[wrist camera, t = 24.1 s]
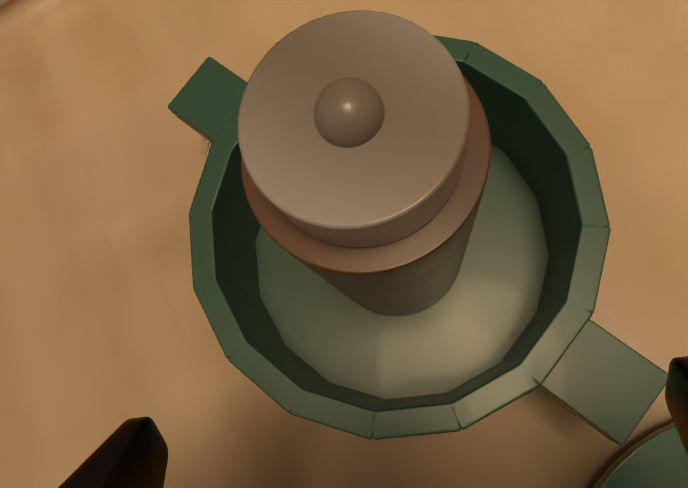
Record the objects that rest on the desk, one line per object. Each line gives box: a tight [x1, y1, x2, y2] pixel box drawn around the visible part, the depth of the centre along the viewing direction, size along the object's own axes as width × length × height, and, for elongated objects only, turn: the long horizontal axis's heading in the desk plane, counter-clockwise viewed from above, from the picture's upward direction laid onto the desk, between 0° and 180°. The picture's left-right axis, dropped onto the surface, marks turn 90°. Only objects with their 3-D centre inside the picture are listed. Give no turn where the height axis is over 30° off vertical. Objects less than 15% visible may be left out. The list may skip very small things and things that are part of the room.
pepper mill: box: [238, 11, 491, 316], centre depth 15 cm, size 5×5×13 cm
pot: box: [168, 35, 668, 446], centre depth 19 cm, size 13×18×5 cm
